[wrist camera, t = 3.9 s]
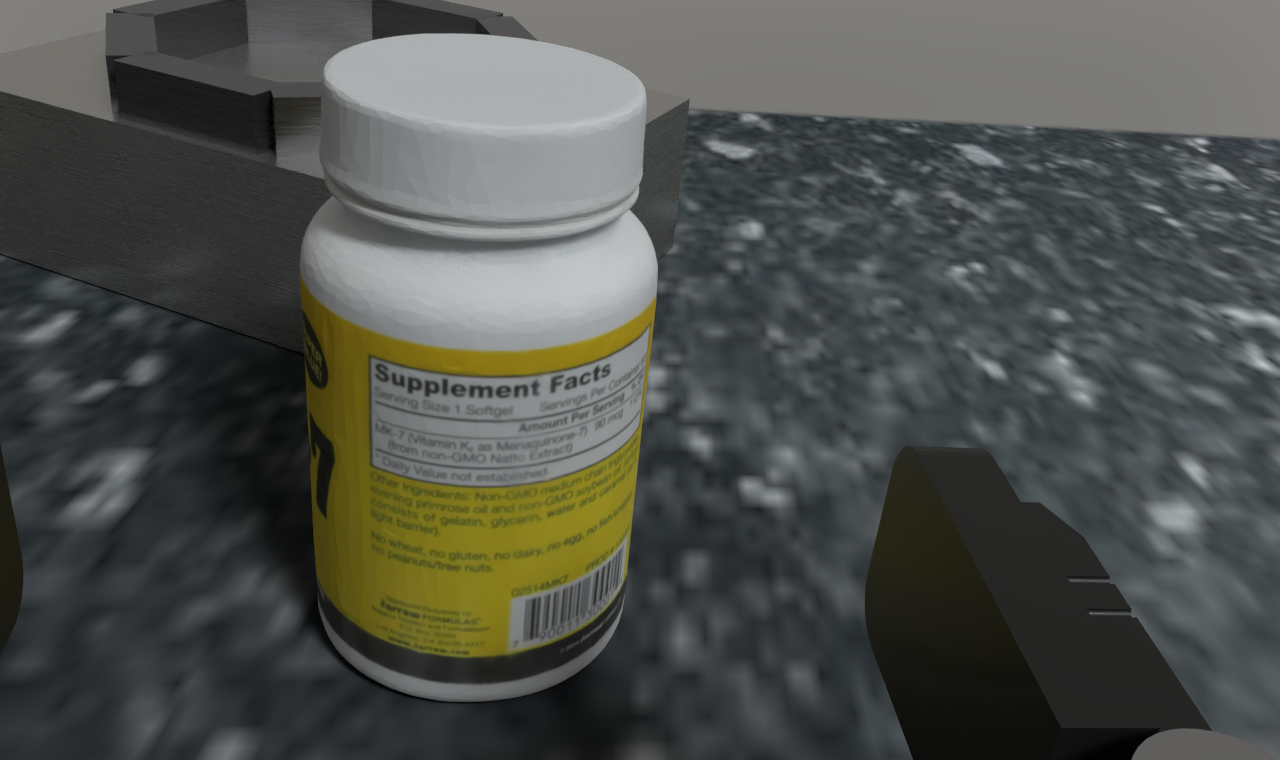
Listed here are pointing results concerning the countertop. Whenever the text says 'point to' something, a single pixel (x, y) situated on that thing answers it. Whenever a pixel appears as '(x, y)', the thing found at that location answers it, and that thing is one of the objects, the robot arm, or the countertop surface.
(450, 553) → the supplement bottle
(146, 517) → the countertop surface
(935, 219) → the countertop surface
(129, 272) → the octagon ring base plate
